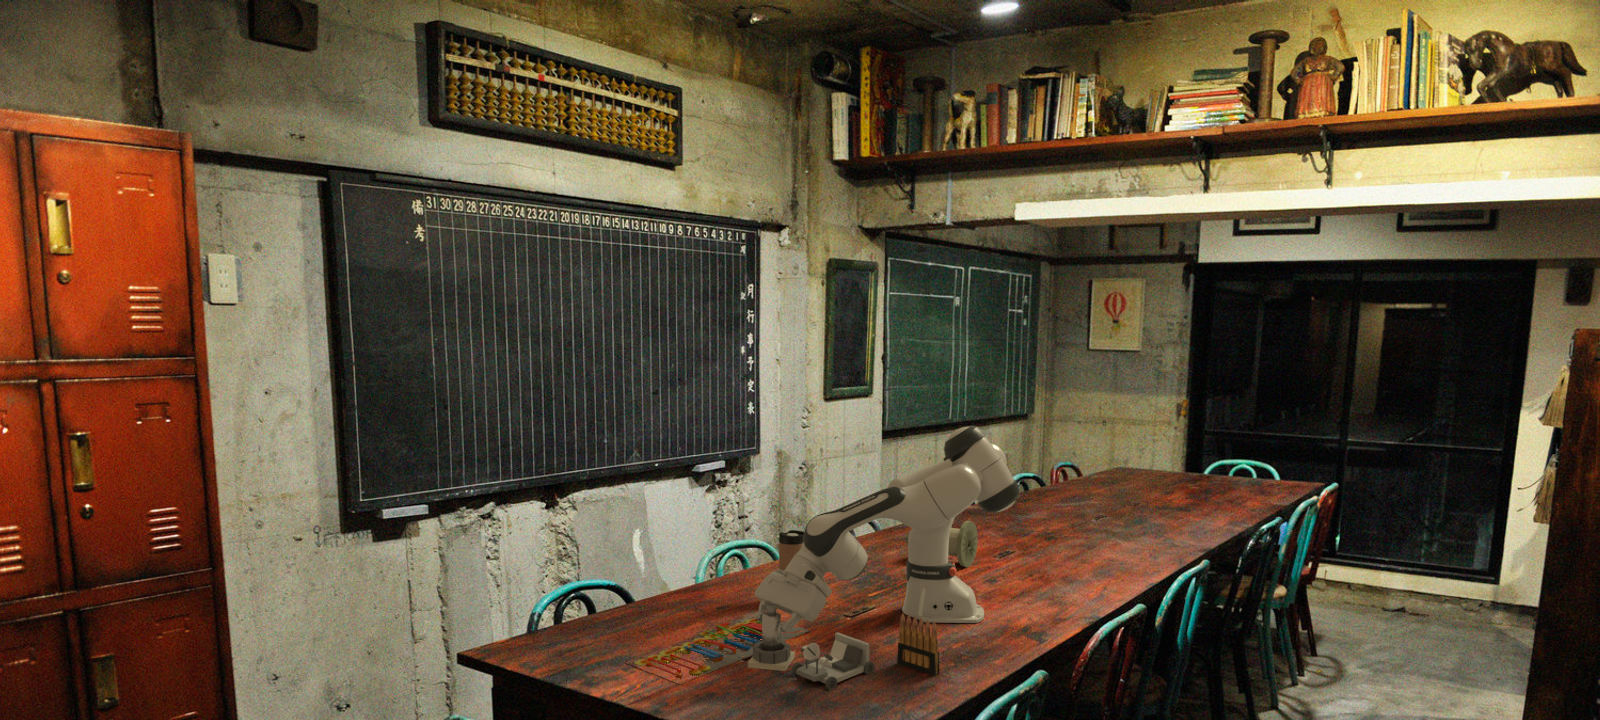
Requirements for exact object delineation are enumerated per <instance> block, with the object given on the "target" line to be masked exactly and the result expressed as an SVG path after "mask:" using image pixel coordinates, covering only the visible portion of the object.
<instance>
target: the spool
mask: <svg viewBox="0 0 1600 720" xmlns="http://www.w3.org/2000/svg"><path fill="white" fill-rule="evenodd" d="M978 536H979V535H978V530H977V526H976V524H975V522H974V521H972V520H965V521H963V523H962V525H960V528H955V527H951V530H950V534H949V547H948V556H951V557H956V558H957V561H958V563H959V565H960V566H961V567H963V568H969V567H971V566H972V565H973V563H974V561H975V559H976V555H977V550H978V544H979V543H978V539H979V538H978Z"/></svg>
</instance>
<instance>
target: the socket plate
mask: <svg viewBox="0 0 1600 720" xmlns="http://www.w3.org/2000/svg"><path fill="white" fill-rule="evenodd" d="M795 654H796V653H795V651H792V650H791V645H790V643H787V642H786V641H781V650H778V651H774V652H773V651H763V650H762V641H761V642H758V643H756V644H755V645H754V646H753V655H751V656H752V657H751V658H750V659H749V660H748V661H747V668H749V669H760V670H768V671H769V670H772V671H782V672H786V671H787V670H788V669H789V666H790V665H791V663H792V661H793V660H794V658H795V656H796V655H795Z"/></svg>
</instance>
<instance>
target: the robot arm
mask: <svg viewBox="0 0 1600 720" xmlns="http://www.w3.org/2000/svg"><path fill="white" fill-rule="evenodd" d="M943 452H944V457H943V461H939V462H937V463H934V464H931V465H928V466H926V467H922V468H920V469H918V470H915V471H913V472H911V473H907V474H905V475H901V476H898V477H896V478H894V479H892V480H891V481H890V482H889V483H888V486H887V487H886V488H883V489H880V490H878V491H875V492H873V493H871V494H869V495H866V496H865V497H862V498H860V499H858V500H855V501H853V502H851V503H848V504H846V505H843V506H842V507H839V508H837V509H835V510H831V511H826V512H822V513H819V514H817V515H815V516H814V517H812V518H811V519H809V521H808V522H807V524H806V526H805V529H804V531H803V532H804V542H803V544H802V547H801V549H800V550H799V552H798V553H796V554H795V555H794V557H793V558H792V560H791V561H790V563H789V564H788V566H787V567H786V569H785V571H783V570H782V569H779V568H777V569H775V570H772V571H771V572H770V573H768V575H766V576H765V578H763V580H762V581H761V583H760V584H759V585H758V587H756V589H755V591H754V597H755V598H756V599H757V601H759V602H760V603H759V604H758V605H759V606H758V612H757V613H756V614H755V615H756V617H755V618H756V619H757V620H758V621H760V622H762V614H764V613H767V606H769V605H775V606H776V610H778V611H779V610H780V611H782V612H784V613H787V614H790V618H789V619H788V620H787V621H782V622H783V623H782V625H781V627H780V629H781V630H782V631H784V632H786V633H788V632H789V631H790V629H791V628H792V627H793V626H797V624H798V623H800V621H802V619H803V620H805V621H807V622H810V623H811V622H814V621H815V620H817V618H818V617H819V615H820V614H821V612H822V610H823V608H824V606H825V604H826V603H827V598H829V597H830V596H831V594H832V593H833V590H832V588H831V587H830V586H829V584H828V583H826V581H825V580H824V577H825V575H826V573H830V574H832V575H833V576H835V578H837V579H839V580H841V581H847V582H848V581H852V580H855V579H856V578H858V577H859V576H860V575H861V574H862V573H864V570H865V569H866V567H867V565H868V560H869V559H868V558H869V557H868V555H869V554H868V553H867V551H866V550H865V548H864V547H863V546H862V544H861V543H860V542H859V541H858V539H856V538H855V537H854V535H853V534H852V533H851V532H850V531H853V530H855V529H857V528H859V527H861V526H864V525H866V524H868V523H871V522H872V521H875V520H877V519H879V520H880V519H891V520H893V521H897V522H899V523H901V524H904V525H905V526H907V527H909V528H911V529H910V531H909V532H908V543H907V544H908V545H907V546H908V550H907V551H908V552H907V553H908V554H907V555H908V556H907V561H906V565H905V577H906V582H907V583H906V592H905V598H904V603H903V605H902V609H901V611H902V613H903V614H904V615H907V616H908V615H910V618H914V617H916V619H917V621H920V619H921V618H922V620H923V623H926V622H927V620H928V621H929V623H933V622H935V623H942V624H943V623H946V624H947V623H948V624H950V623H951V624H952V623H953V624H954V623H955V624H956V623H957V624H960V623H961V624H963V623H965V624H978V623H980V622H982V621H983V620H984V618H985V610H984V608H983V606H981V605H979V604H978V603H977V599H976V594H975V592H974V590H973V589H972V588H971V587H970V586H969V585H968V584H966V583H965V582H964V581H962V579H960V578H959V577H958V576H957V572H958V571H957V568H956V565H955V562H953V563H952V562H951V561H949V555H948V547H949V534H950V530H951V528H952V525H953V524H954V521H955V518H956V517H957V516H958V515H960V514H961V513H962V512H964V511H965V510H967V509H968V508H969V507H970V506H971V505H972V504H973V503H975V501H977V502H978V503H977V504H978V505H979V506H980V507H981V509H982V510H983V511H985V512H986V513H990V514H995V513H1001V512H1004V511H1006V510H1008V509H1009V508H1011V507H1012V506H1013V505H1014V504H1015V502H1016V501H1017V500H1018V499H1019V497H1020V493H1021V491H1020V487H1019V485H1018V482H1017V480H1016V479H1014V477H1013V475H1012V473H1011V471H1010V470H1009V469H1010V468H1008V460H1007V456H1006V454H1005V452H1004V451H1003V449H1001V447H999V446H998V445H997V444H995V443H992V442H990V441H989V439H988V438H986V434H985V433H984V432H983V431H982V429H980V428H979V427H978V426H977V425H969V426H963V427H962V426H961V427H960V428H958V429H955V431H953V432H952V433H950V435H949V436H948V438H947V440H945V441H944V446H943Z"/></svg>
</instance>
